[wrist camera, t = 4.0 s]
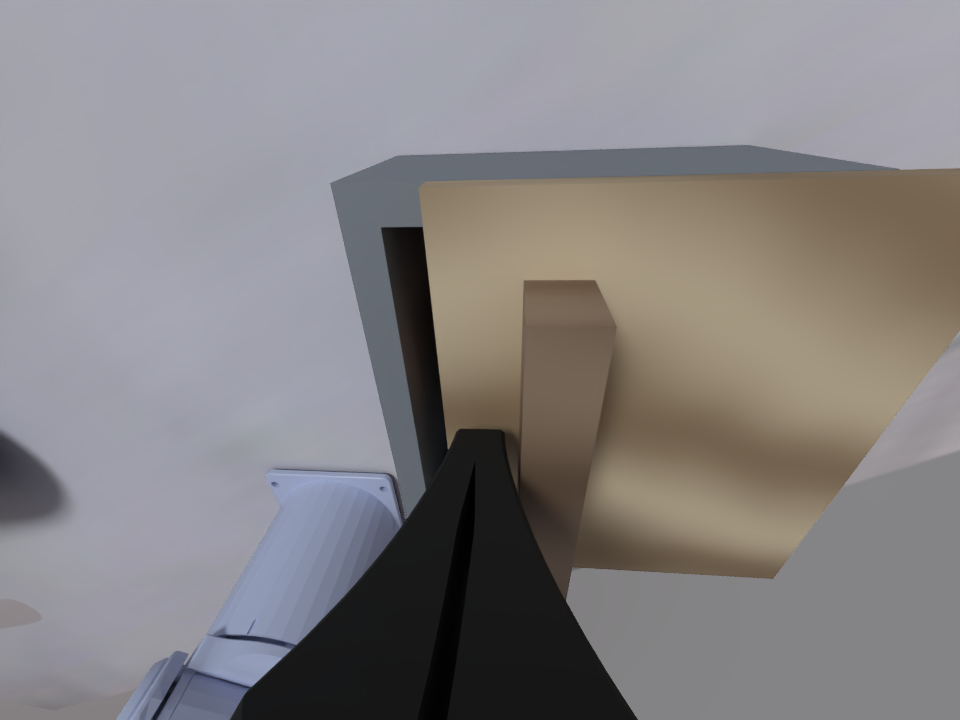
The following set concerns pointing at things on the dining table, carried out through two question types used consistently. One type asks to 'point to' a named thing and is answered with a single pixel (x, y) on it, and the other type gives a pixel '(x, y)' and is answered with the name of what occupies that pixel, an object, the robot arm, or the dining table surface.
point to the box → (404, 273)
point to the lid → (687, 348)
